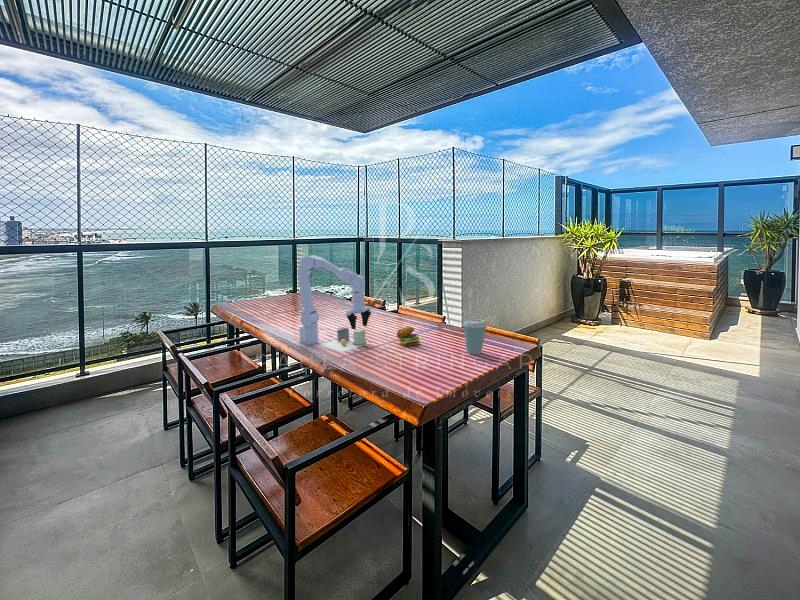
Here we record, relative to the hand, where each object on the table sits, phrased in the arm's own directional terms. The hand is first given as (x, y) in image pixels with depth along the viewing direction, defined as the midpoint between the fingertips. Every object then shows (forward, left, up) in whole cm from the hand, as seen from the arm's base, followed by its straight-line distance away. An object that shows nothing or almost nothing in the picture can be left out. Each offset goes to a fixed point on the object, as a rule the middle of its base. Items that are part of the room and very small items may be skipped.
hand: (359, 327), depth 186 cm
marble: (-4, -7, -7) cm, 10 cm away
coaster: (0, 0, -8) cm, 8 cm away
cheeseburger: (+19, +15, -9) cm, 26 cm away
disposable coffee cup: (+51, +23, -9) cm, 57 cm away
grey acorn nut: (-11, -1, -8) cm, 14 cm away
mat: (-5, -5, -9) cm, 11 cm away
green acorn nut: (0, 0, -8) cm, 8 cm away
